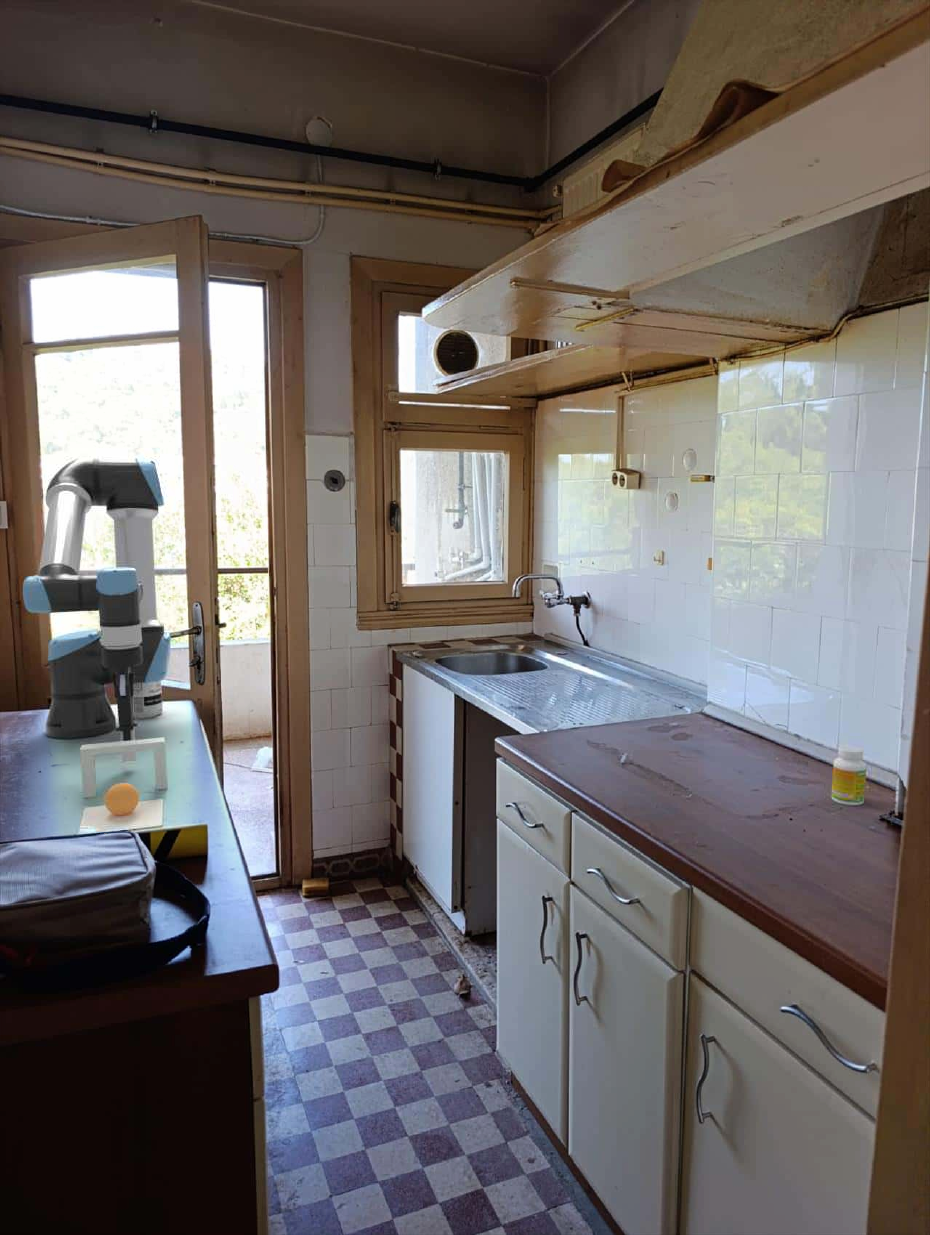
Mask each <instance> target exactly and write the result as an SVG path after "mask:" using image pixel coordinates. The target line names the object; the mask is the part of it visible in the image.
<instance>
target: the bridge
mask: <svg viewBox="0 0 930 1235" xmlns="http://www.w3.org/2000/svg"><path fill="white" fill-rule="evenodd" d="M144 750H153V760H154V762H153V764H154V777H155V790H156V791H157V790H159V789H160V790H166V789H168V772H167V771H168V769H167V768H168V767H167V755H166V751H167V750H166V737H154V738H144V739H135V740H130V741H120V740H119V741H111V742H101V743H100V742H99V743H89V744H81V746H80V748H79V751H80V752H79V753H80V766H81V768H80V770H81V779H82V780H81V781H82V793H83V799H86V798H85V797H88V798H96V796H97V793H98V792H97V790H98V788H97V787H98V786H97V775H96V761H95V760H96V759H95V755H104V754H116V753H121V752H127V751H136V752H137V751H144ZM160 790H159V791H160ZM96 792H97V793H96Z"/></svg>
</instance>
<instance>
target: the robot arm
mask: <svg viewBox="0 0 930 1235" xmlns="http://www.w3.org/2000/svg"><path fill="white" fill-rule="evenodd" d="M45 493H46V494H45V503H46V506H47V508H48V513H47V519H46V526H45V531H44V536H43V537H44V538H43V542H42V543H43V544H42V549H41V556H40V563H39V568H38V574H35V575H31V576H27V577H25V579H24V581H23V584H22V597H23V603H24V607H25V608H26V610H27V611H28V612H30V613H34V614H54V613H73V612H75V613H76V612H98V617H99V629H86V630H80V631H75V632H70V633H66V634H62V635H59V636H56V637H54V638H53V639H51V640H49V642H48V645H47V646H48V647H47V648H48V657H47V661H48V665H49V666H48V667H49V677H50V678H49V679H50V690H51V691H50V692H51V703H50V707H49V711H48V714H47V718H46V720H45V721H46V722H45V734H46V736H48V737H49V738H55V739H80V738H81V739H82V738H86V737H87V738H89V737H95V736H98V735H102V734H105V733H109V732H111V731H113V730H115V733H116V732H117V733H118V732H119V742H120V741H130V740H136V736H135V735H136V732H135V731H136V730H135V728H136V727H138V725H139V724H138V722H134V721H135V718H134V715H133V695H134V683H148V682H156V681H161V682H162V681H164V680H165V679H166V678H167V676H168V671H169V665H170V656H171V653H170V652H171V640H172V638H171V637H172V635H171V633H170V632H166V631H165V626H164V624H163V623H162V622H161V621H160V620H158V613H157V612H158V611H157V593H156V589H157V588H156V575H155V574H156V572H155V569H156V568H155V550H154V534H153V533H154V532H153V520H154V519H155V518H156V517H157V516H158V515H159V507H162V506H164V505H165V499H164V498H165V497H164V491H163V488H162V483H161V477H160V472H159V468H158V463H157V462H156V460H155V459H153V458H152V457H146V456H145V457H144V456H137V455H134V456H130V455H129V456H95V455H90V456H87V455H86V456H83V457H79V458H76V459H74V460H72V461H70V462H68V463H67V464H65V465H64V466H62V467H61V468H60V469H59V470H58V471H57V472H56V473H55V474H54V475H53V477H52V478H51V480H50V481H49V484H48V486H47V488H46V492H45ZM93 506H94V507H97V506H98V507H105V510H106V515H108V516H109V517H110V518H111V519H112V520H113V532H114V533H113V535H114V548H115V550H114V553H115V554H114V556H115V567H114V566H113V567H105V568H100V569H98V570H97V571H96V574H80V570H81V569H80V567H81V560H82V550H83V543H84V542H83V540H84V534H85V524H86V523H85V522H86V515H87V513H89V511H90V510H91V509H92V507H93ZM110 685H111V686H113V687H114V698H115V699H116V707H117V718H118V727H117V720H116V715H115V713H114V710H113V708H112V706H111V703H110V701H109V699H108V697H107V689H106V686H110ZM120 758H121V759H120V760H121V763H129V762H136V761H137V751H127V752H120Z"/></svg>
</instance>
